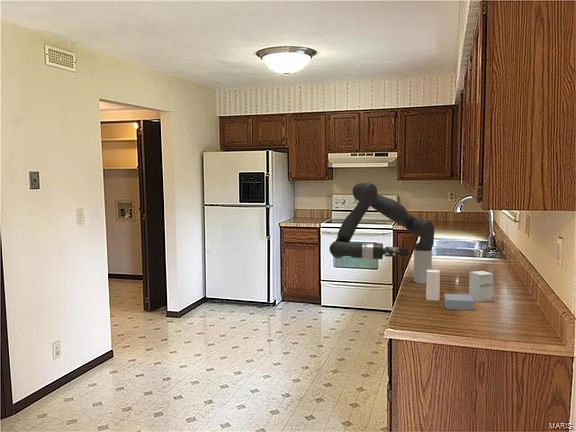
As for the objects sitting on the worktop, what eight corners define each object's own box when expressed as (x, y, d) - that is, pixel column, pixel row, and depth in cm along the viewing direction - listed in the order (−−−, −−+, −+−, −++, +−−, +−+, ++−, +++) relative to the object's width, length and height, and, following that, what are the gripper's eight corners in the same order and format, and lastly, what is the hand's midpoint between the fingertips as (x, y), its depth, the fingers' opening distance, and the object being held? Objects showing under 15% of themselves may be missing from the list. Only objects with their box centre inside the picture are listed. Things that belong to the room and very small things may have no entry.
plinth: (444, 302, 216) (444, 293, 216) (470, 303, 214) (470, 294, 214) (446, 309, 206) (446, 299, 205) (473, 310, 203) (473, 301, 203)
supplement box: (478, 302, 215) (479, 274, 214) (468, 298, 223) (468, 271, 221) (492, 301, 217) (493, 273, 216) (482, 297, 225) (482, 270, 223)
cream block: (426, 297, 226) (426, 269, 225) (438, 297, 225) (438, 269, 224) (426, 300, 221) (427, 271, 220) (439, 300, 219) (439, 272, 218)
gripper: (371, 245, 220) (408, 246, 216) (373, 241, 234) (408, 242, 230) (371, 261, 220) (408, 262, 217) (373, 256, 234) (407, 257, 231)
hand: (408, 252), depth 223 cm, fingers open, 8 cm apart
